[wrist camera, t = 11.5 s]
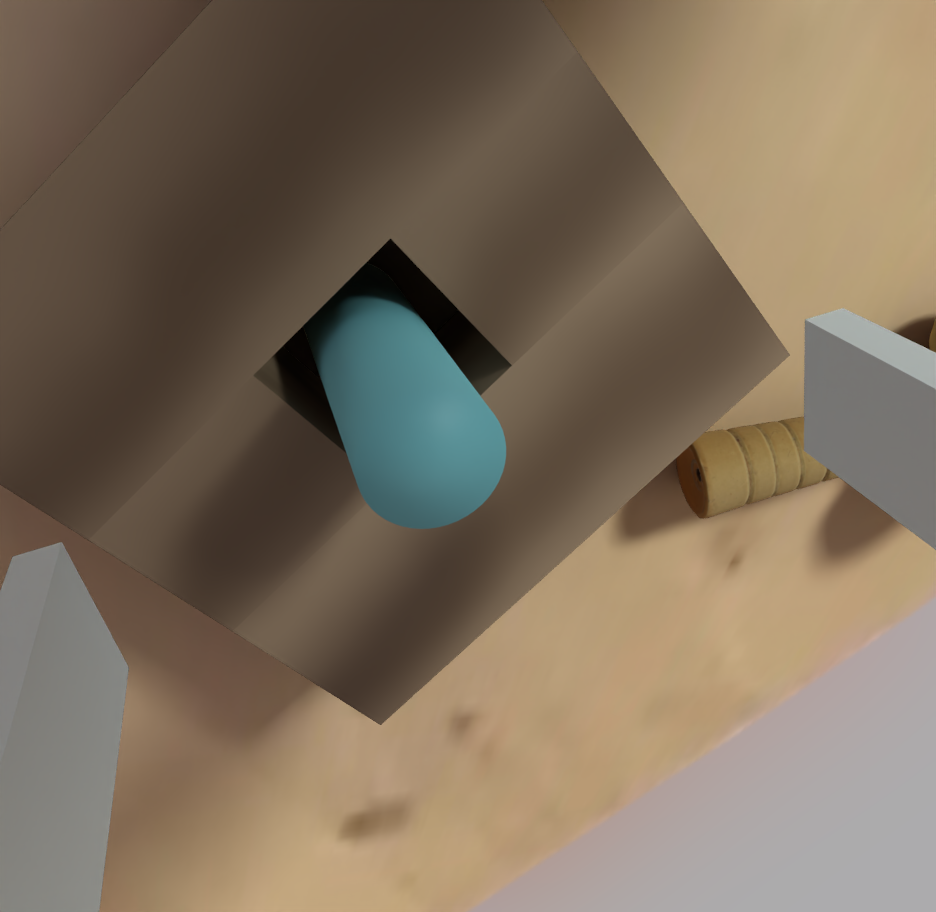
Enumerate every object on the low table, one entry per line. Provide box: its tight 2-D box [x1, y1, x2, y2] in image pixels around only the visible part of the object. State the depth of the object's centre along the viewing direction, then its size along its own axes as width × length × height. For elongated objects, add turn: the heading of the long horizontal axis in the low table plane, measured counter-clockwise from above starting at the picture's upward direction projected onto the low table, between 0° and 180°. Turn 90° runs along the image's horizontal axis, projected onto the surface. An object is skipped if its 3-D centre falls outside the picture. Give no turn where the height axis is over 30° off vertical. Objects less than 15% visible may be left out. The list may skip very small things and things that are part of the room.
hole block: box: [0, 0, 790, 725], centre depth 23 cm, size 16×16×5 cm
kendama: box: [676, 318, 936, 518], centre depth 30 cm, size 8×6×18 cm
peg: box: [303, 263, 506, 529], centre depth 21 cm, size 3×3×10 cm
